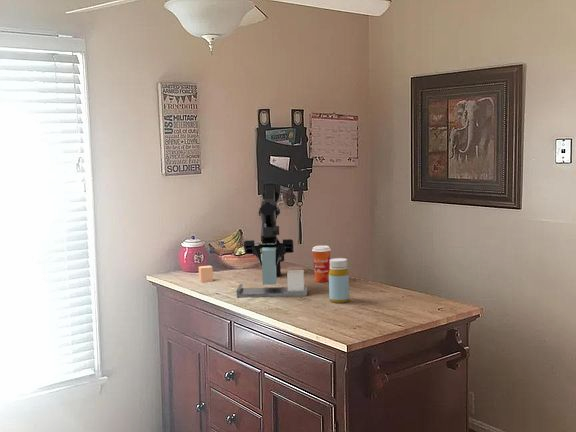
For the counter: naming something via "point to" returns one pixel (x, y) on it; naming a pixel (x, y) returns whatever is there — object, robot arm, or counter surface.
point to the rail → (293, 289)
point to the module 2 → (269, 265)
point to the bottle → (338, 280)
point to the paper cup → (321, 263)
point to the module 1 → (205, 274)
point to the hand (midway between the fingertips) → (268, 264)
